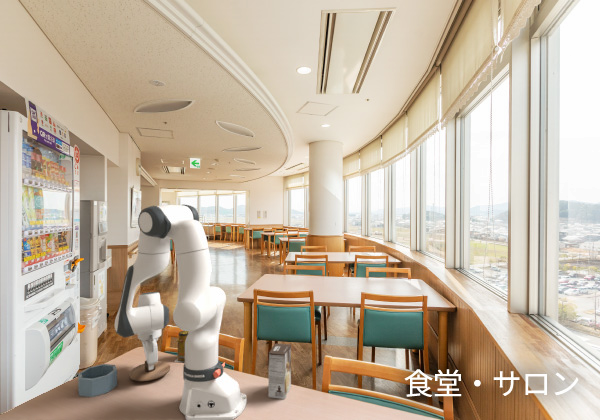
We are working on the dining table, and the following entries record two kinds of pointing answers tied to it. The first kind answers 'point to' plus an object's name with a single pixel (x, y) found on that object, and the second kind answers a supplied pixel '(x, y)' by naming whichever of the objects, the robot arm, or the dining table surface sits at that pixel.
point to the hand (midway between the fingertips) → (150, 366)
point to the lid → (149, 371)
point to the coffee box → (279, 371)
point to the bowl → (97, 380)
